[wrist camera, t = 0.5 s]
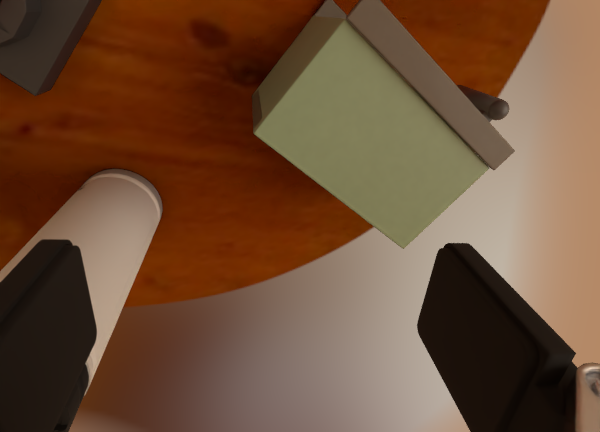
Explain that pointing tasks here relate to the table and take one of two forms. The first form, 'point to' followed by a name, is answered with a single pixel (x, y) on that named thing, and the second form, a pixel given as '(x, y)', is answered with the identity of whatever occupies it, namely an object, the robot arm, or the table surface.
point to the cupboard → (374, 120)
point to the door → (483, 104)
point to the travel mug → (103, 253)
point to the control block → (40, 39)
